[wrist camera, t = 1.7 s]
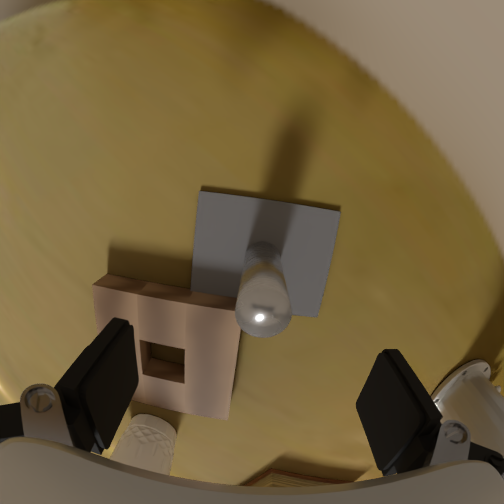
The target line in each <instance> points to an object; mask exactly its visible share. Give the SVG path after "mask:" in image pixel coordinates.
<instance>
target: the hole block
mask: <svg viewBox="0 0 504 504" xmlns="http://www.w3.org/2000/svg"><path fill="white" fill-rule="evenodd" d="M92 287H93V298H94V308H95V316H96V324H97V331H98V335H99V333H100V332H101V331H102V330H103V329H104V327H105V326H106V325H107V324H108V323H109V322H110V321H111V319H112V318H114V317H116V318H121V319H125V320H128V321H129V323H130V325H133V327H134V338H135V349H136V359H137V367H138V375H139V383H138V386H137V389H136V391H135V393H134V395H133V397H132V399H131V400H133V401H137V402H141V403H144V404H148V405H152V406H156V407H160V408H164V409H169V410H173V411H178V412H182V413H187V414H193V415H198V416H204V417H210V418H216V419H223V420H228V415H229V408H230V401H231V394H232V387H233V380H234V373H235V366H236V359H237V352H238V345H239V338H240V331H241V328H240V326H239V325H238V323H237V321H236V318H235V307H236V302H237V298H234V297H227V296H221V295H214V294H208V293H201V292H195V291H191V289H188V288H182V287H176V286H170V285H164V284H158V283H153V282H147V281H142V280H136V279H131V278H126V277H121V276H116V275H111V274H106V275H105V276H103V277H102V278H101V279H99V280H98V281H97V282H95V283H94V284H93V285H92ZM150 342H153V343H157V344H162V345H166V346H171V347H176V348H181V349H185V365H182V364H177V363H172V362H167V361H163V360H158V359H154V358H151V343H150Z"/></svg>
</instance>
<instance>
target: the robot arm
mask: <svg viewBox="0 0 504 504" xmlns="http://www.w3.org/2000/svg"><path fill="white" fill-rule="evenodd" d="M490 374H491V369H490V366H489V365H488V364H487V362H486V361H484V360H481V359H478V360H473V361H471V362H468V363H466V364H464V365H463V366H461V367H460V368H458V369H457V370H455V371H454V372H453V373H452V374H450V375H449V376H448V377H447V378H446V379H445V380H444V381H443V382H442V383H441V384H440V385H439V387H438V388H437V389H436V390H435V392H434V393H433V395H432V396H431V397H430V395H429V394H428V392H427V391H426V389H425V388H424V386H423V385H422V383H421V382H420V380H419V379H418V377H417V376H416V374H415V373H414V371H413V370H412V368H411V367H410V366H409V364H408V363H407V361H406V360H405V358H404V357H403V355H402V354H401V353H400V351H399V350H398V349H384V350H383V351H382V353H379V354H378V356H377V358H376V361H375V363H374V365H373V368H372V370H371V372H370V374H369V376H368V378H367V381H366V383H365V385H364V387H363V389H362V391H361V393H360V395H359V397H358V399H357V402H356V409H357V412H358V414H359V417H360V420H361V422H362V425H363V428H364V431H365V433H366V436H367V439H368V442H369V445H370V447H371V450H372V453H373V456H374V459H375V462H376V465H377V468H378V469H379V470H381V471H382V474H383V477H381V478H376V479H371V480H365V481H358V482H352V483H344V484H335V485H324V486H310V487H251V486H237V485H226V484H217V483H209V482H202V481H196V480H190V479H184V478H179V477H174V476H169V475H165V474H160V473H156V472H152V471H148V470H145V469H141V468H137V467H133V466H130V465H126V464H123V463H120V462H117V461H113V460H110V459H107V458H105V457H102V456H99V455H96V454H93V453H90V452H91V451H92V452H94V453H97V454H100V455H101V454H102V452H103V450H104V449H108V448H109V447H110V445H111V442H112V440H113V438H114V436H115V433H116V431H117V429H118V427H119V425H120V423H121V420H122V418H123V416H124V414H125V412H126V410H127V408H128V405H129V403H130V401H131V399H132V397H133V395H134V393H135V391H136V389H137V386H138V383H139V375H138V367H137V359H136V349H135V338H134V327H133V325H130V323H129V321H128V320H125V319H121V318H116V317H114V318H112V319H111V321H110V322H109V323H108V324H107V325H106V326H105V327H104V329H103V330H102V331H101V332H100V333H99V335H98V336H97V337H96V338H95V339H94V341H93V342H92V343H91V344H90V345H89V346H87V347H86V348H85V349H84V350H83V352H82V353H81V354H80V355H79V357H78V358H77V359H76V360H75V361H74V363H73V364H72V365H71V366H70V368H69V369H68V370H67V371H66V373H65V374H64V375H63V376H62V378H61V379H60V380H59V382H58V383H57V384H56V385H55V387H54V388H53V387H51V386H50V385H46V384H34V385H31V386H29V387H28V388H26V389H25V390H24V391H23V393H22V395H21V397H20V402H18V403H12V404H6V405H0V504H504V397H503V396H502V395H501V394H500V393H499V392H500V390H501V387H500V386H499V385H498V386H494V385H493V384H492V383H491V382H490V381H489V379H490ZM396 473H397V474H396ZM393 474H395V475H393ZM389 475H391V476H389ZM384 476H386V477H384Z"/></svg>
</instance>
